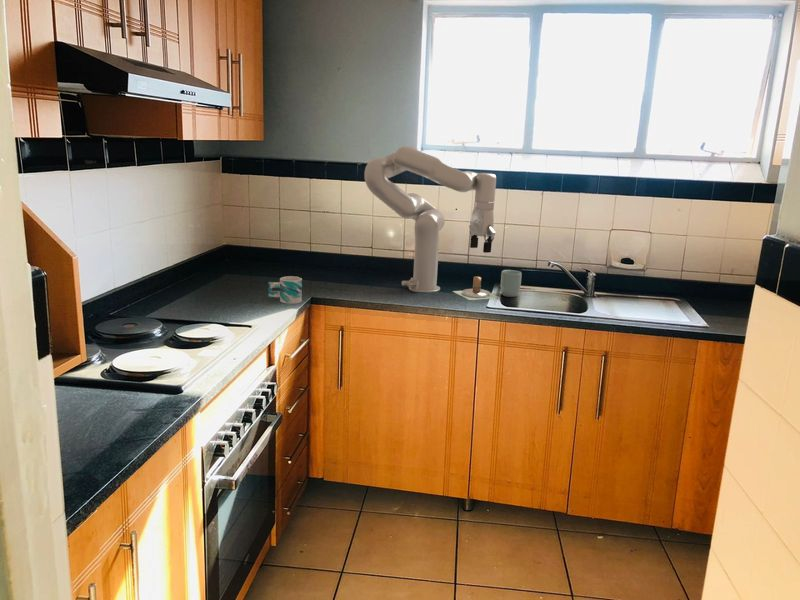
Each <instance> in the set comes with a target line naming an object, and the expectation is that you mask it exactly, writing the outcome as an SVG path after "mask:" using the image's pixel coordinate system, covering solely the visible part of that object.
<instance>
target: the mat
mask: <svg viewBox="0 0 800 600" xmlns="http://www.w3.org/2000/svg"><path fill="white" fill-rule="evenodd" d="M481 289H482V288H481ZM482 290H484V289H482ZM462 291H463V290H453V291H451V292H452V293H455V294H456V295H459V296H460V297H463V298H465V299H466V300H469V301H476V300H488V299H489V300H490V299H493V300H494V299H501V297H500V296H498V295H496V294H493V293H492V292H490V296H489V297H486V298H473V297H468V296H465V295H463V294H462Z"/></svg>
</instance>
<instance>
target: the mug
mask: <svg viewBox="0 0 800 600" xmlns="http://www.w3.org/2000/svg"><path fill="white" fill-rule="evenodd" d="M273 288H276V289H277V288H278V289H279V290H273ZM302 292H303V278H302V277H299V276H292V275H290V276H289V275H288V276H282V277H280V278H279V281H277V282H275V281H268V284H267V294H268V295H267V298H279V302H280V303H284V304H289V305H290V304H299V303H302V301H303V298H302V297H303V293H302Z"/></svg>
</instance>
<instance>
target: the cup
mask: <svg viewBox="0 0 800 600" xmlns="http://www.w3.org/2000/svg"><path fill="white" fill-rule="evenodd" d="M500 278H501V279H500V292H501V294H502V296H504V297H508V298H515V297H517V296H518V295H519V294H520V290H521V286H522V285H521V284H522V271H519V270H515V269H514V270H513V269H503V270H502V271H501V275H500Z"/></svg>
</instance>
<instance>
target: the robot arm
mask: <svg viewBox="0 0 800 600" xmlns="http://www.w3.org/2000/svg"><path fill="white" fill-rule="evenodd" d="M403 172H410V173H414V174H416V175H418V176H421V177H423V178H426V179H428V180H430V181H431V182H435V183H437V184H438V185H440V186H444V187H446V188H448V189H451V190H454V191H456V192H459V193H467V192H470V191H474V204H473V209H472V213H471V218H470V224H469V226H468V227H469V234H470V235H469V237H470V242H469V243H470V244H469V248H470V249H471V248H472V249H475V248H478V246H479V244H478V243H479V237H483V239H484V241H483V247H482V248H483V249H482V252H483V253H485V254H486V253H487V254H489V253H491V252H492V244H493V241H494V239H495V235H496V231H495V230H494V216H495V215H494V208H495V198H496V188H497V176H496V174H494V173H489V172H480V173H479V172H475V171H470V170H465V171H462V170H460V169H456V168H455V167H452V166H449V165H447V164H446V163H443V162H442V161H441V160H440V159H439V158H438V157H436V156H433V155H431V154H428V153H425V152H422V151H420V150H418V149H417V148H416V147H414V146H411V145H405V146H400V147H399V148H398V149H397V150H396V151H395V152H392V153H390V154H388V155H387V156H384V157H378V158H374V159H372V160H369V162H368V163H367V164H366V166H365V169H364V181H365V184H366V187H367V188H368V190H369V191H370V192H371V193H372V194H373V195H374V196H375V197H376V198H378V199H379V200H380V201H381V202H382V203H384V204H385V205H386V206H387V207H389V208H390V209H391V210H392V211H394V213H395V214H397V215H398V216H400V217H401V218H403V219H412V220H413V221H415V222H414V253H413V254H414V256H413V257H414V258H413V259H414V260H413V277H410V279H409V280H402V281H401V285H402V287H403V286H404V287H405V286H407V287H408V289H409V290H410V291H411V292H415V293H418V294H419V293H436V292H439V291H440V290H441V287H440V286H438V285H437V283H438V282H437V281H438V268H439V267H438V265H439V250H440V239H439V238H440V237H439V233H440V231H441V230H442V229H443V228H444V227H445V223H446V222H445V221H446V220H445V217H444V215H443V213H442V211H440V210H439V209H438V208H436V207H435V206H434V205H433V204H431V203H430V202H429V201H428V200H426V199H425V198H424V197H422V196H421V195H419V194H417V193H414V192H413V193H411V192H409V193H407V192H406V191H404V190H403V189H402V188H400V187H399V186H398V185H397V184H395V183H394V182H393V181H391V180H389V179H390V178H392V177H395V176H397V175H399V174H402V173H403Z"/></svg>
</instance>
